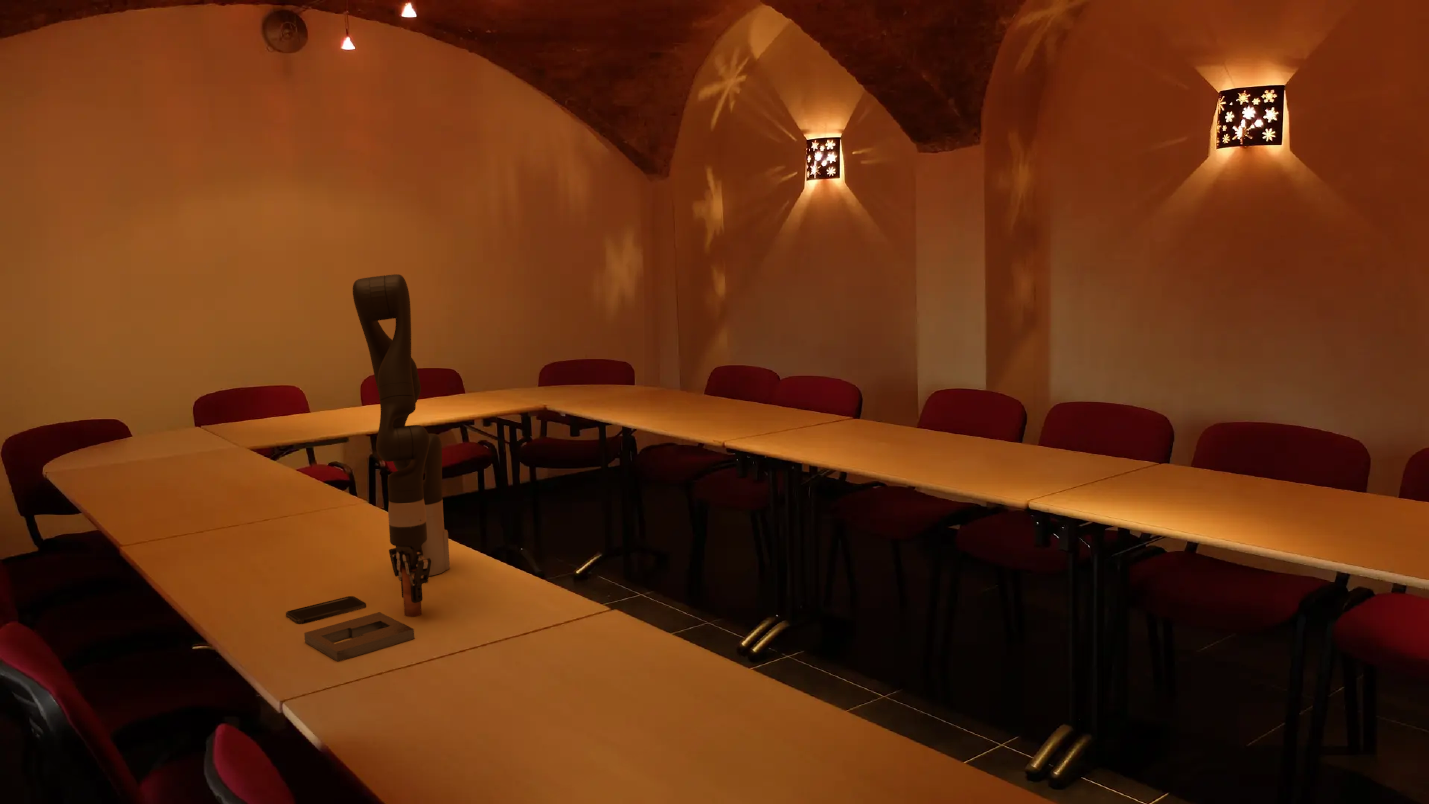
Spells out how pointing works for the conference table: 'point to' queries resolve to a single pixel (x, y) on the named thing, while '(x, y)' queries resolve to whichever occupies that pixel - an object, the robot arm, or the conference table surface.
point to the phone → (325, 610)
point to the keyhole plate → (371, 630)
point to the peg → (409, 596)
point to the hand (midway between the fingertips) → (412, 599)
